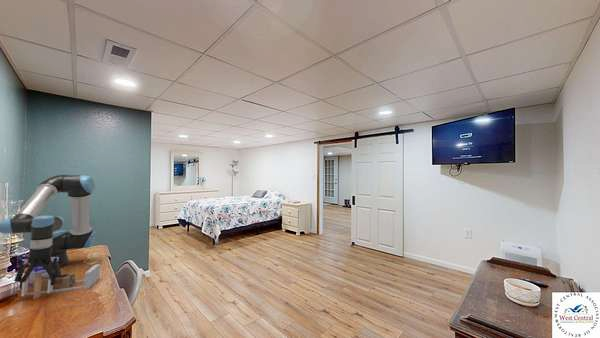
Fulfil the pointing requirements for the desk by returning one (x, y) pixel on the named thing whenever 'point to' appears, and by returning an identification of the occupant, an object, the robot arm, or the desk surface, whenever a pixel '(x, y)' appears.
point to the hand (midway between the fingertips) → (37, 293)
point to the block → (57, 282)
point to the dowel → (37, 287)
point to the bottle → (36, 273)
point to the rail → (90, 279)
